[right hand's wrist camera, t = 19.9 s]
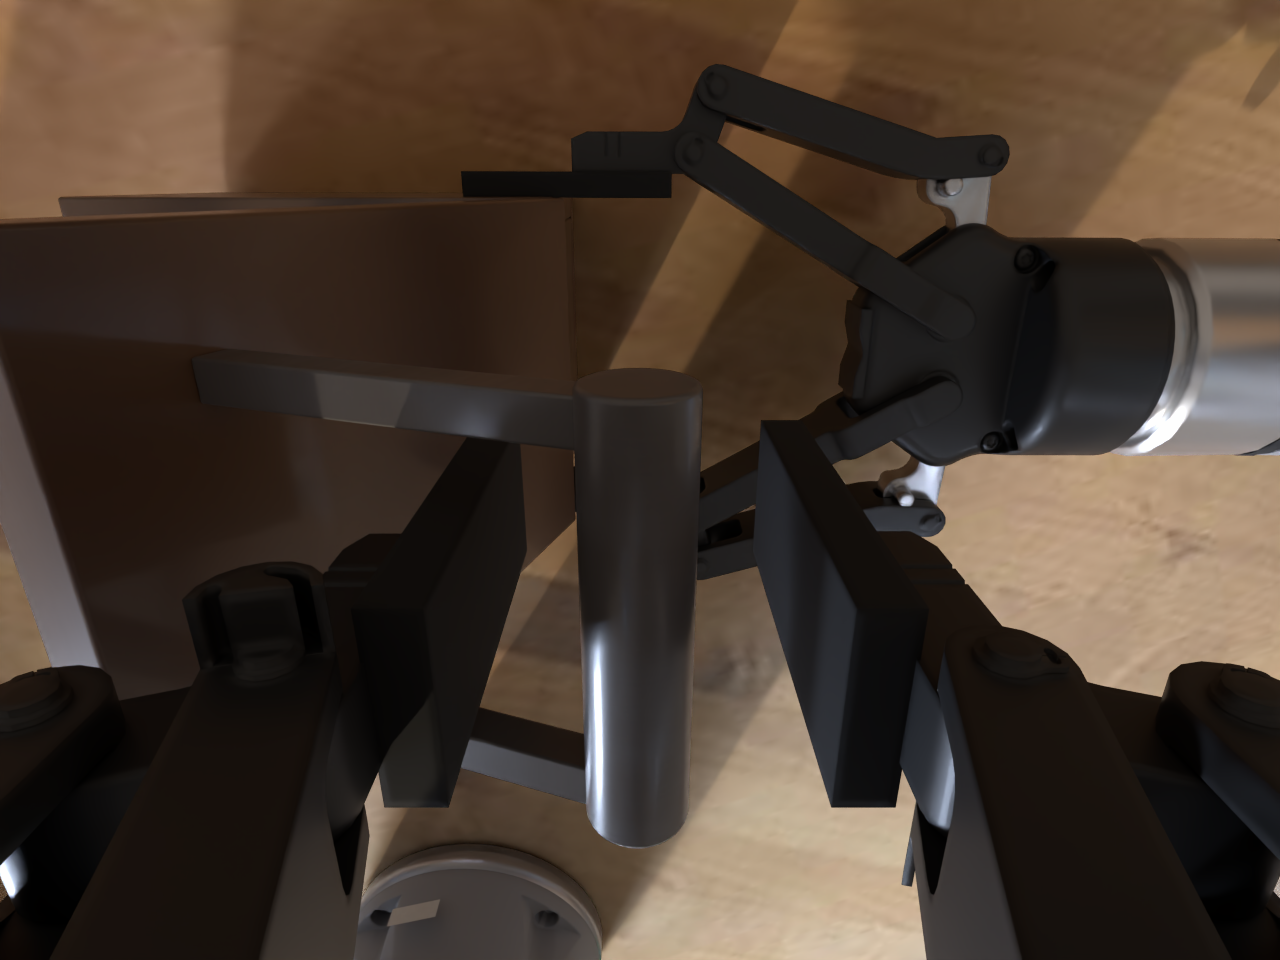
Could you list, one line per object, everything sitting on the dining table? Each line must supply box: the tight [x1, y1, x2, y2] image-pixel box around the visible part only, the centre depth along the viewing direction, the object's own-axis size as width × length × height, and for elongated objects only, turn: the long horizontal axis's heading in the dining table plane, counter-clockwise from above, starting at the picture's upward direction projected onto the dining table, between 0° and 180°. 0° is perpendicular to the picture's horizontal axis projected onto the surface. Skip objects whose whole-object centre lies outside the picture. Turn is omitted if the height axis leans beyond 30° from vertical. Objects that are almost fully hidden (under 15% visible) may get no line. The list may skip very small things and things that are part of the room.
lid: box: [0, 198, 703, 848], centre depth 15 cm, size 15×10×9 cm
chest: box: [58, 193, 578, 454], centre depth 28 cm, size 14×10×9 cm
